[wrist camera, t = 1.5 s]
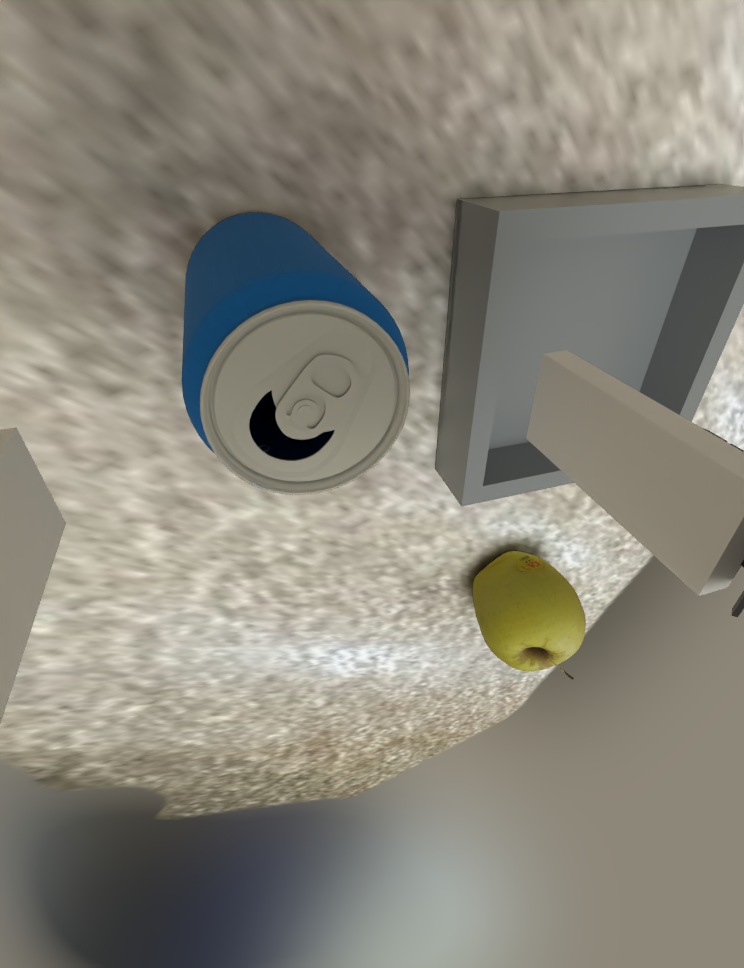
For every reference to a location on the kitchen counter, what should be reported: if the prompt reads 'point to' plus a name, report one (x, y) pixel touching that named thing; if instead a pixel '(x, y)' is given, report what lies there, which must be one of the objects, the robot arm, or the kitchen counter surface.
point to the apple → (528, 612)
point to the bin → (579, 313)
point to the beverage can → (288, 359)
